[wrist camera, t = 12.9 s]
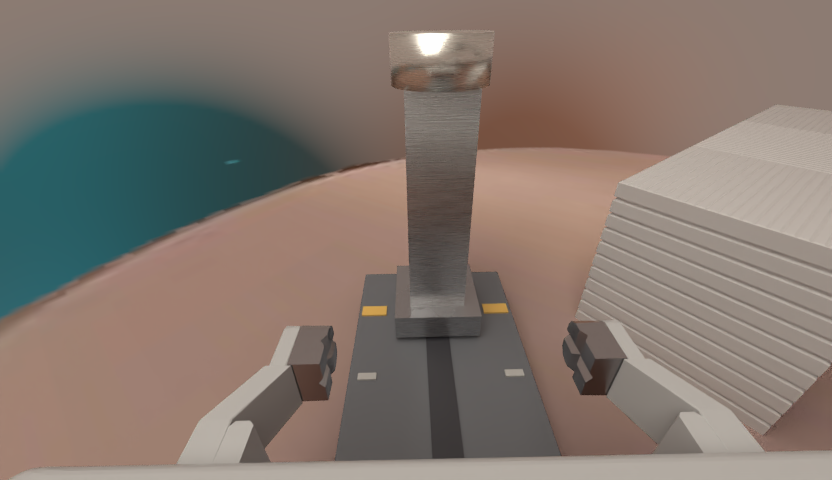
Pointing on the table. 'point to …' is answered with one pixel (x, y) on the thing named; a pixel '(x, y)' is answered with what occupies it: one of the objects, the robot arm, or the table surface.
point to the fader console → (441, 386)
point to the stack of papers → (728, 262)
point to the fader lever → (439, 175)
